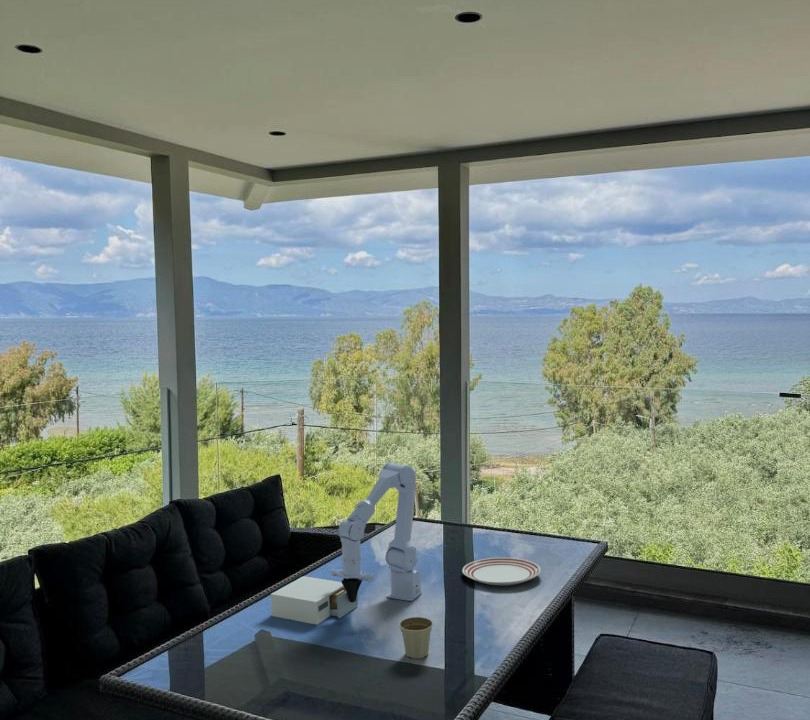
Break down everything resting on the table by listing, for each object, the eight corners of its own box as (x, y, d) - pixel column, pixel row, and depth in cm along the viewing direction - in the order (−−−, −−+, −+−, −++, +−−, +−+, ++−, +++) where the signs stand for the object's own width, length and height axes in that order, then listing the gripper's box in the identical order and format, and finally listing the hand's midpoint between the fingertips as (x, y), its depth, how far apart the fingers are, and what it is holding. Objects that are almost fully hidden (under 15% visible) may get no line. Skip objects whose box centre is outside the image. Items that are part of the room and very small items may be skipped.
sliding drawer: (357, 606, 247) (357, 585, 247) (339, 618, 237) (339, 597, 237) (330, 601, 252) (329, 581, 252) (311, 613, 242) (310, 592, 242)
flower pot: (409, 664, 205) (408, 633, 205) (393, 651, 214) (392, 621, 213) (440, 656, 210) (439, 625, 209) (423, 644, 218) (422, 614, 217)
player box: (348, 604, 249) (347, 583, 249) (317, 624, 233) (317, 602, 233) (304, 596, 257) (303, 576, 257) (271, 615, 241) (270, 594, 241)
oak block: (345, 605, 246) (344, 590, 246) (337, 610, 242) (337, 595, 242) (333, 603, 248) (333, 588, 248) (326, 608, 244) (325, 593, 244)
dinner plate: (452, 586, 264) (452, 576, 264) (474, 562, 290) (474, 553, 290) (531, 595, 254) (531, 585, 254) (547, 569, 280) (547, 560, 280)
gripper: (324, 559, 240) (326, 602, 241) (365, 565, 234) (366, 609, 235) (336, 552, 247) (338, 594, 247) (376, 558, 240) (377, 601, 241)
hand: (352, 601), depth 241 cm, fingers closed
